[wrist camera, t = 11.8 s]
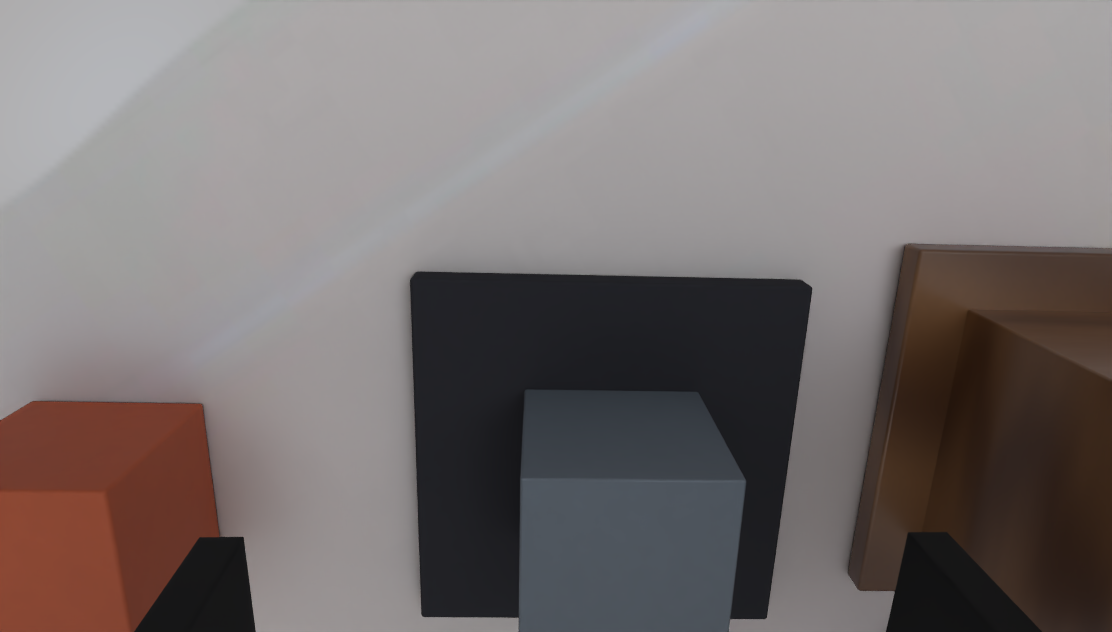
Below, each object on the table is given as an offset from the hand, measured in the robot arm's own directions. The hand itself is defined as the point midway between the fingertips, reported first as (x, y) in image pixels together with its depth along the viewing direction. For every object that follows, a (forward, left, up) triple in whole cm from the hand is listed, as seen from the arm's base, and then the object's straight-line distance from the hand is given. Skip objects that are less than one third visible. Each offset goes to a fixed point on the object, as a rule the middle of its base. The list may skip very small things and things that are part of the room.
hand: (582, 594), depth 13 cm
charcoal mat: (0, +1, -7) cm, 7 cm away
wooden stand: (-1, +13, -7) cm, 15 cm away
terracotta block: (+1, -12, -7) cm, 14 cm away
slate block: (+1, +1, -6) cm, 6 cm away
